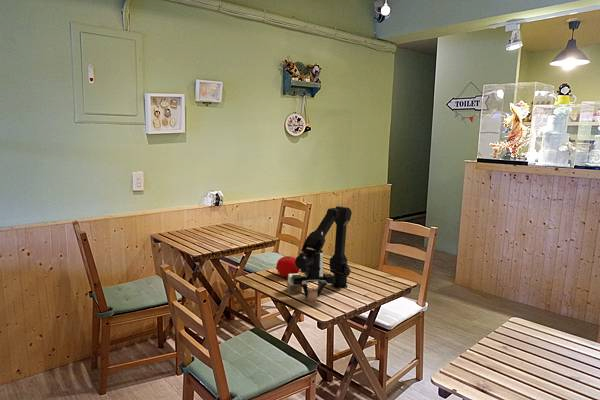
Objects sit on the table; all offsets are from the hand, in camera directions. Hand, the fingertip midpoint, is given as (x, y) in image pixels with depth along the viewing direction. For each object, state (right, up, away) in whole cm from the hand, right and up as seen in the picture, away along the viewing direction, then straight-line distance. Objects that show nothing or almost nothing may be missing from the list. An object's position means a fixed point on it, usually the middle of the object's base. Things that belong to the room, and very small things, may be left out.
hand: (312, 297), depth 188 cm
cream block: (-8, +4, +9) cm, 13 cm away
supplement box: (+2, +3, +30) cm, 30 cm away
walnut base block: (-8, +1, +9) cm, 12 cm away
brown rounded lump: (0, -1, 0) cm, 1 cm away
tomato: (-12, +4, +31) cm, 33 cm away
